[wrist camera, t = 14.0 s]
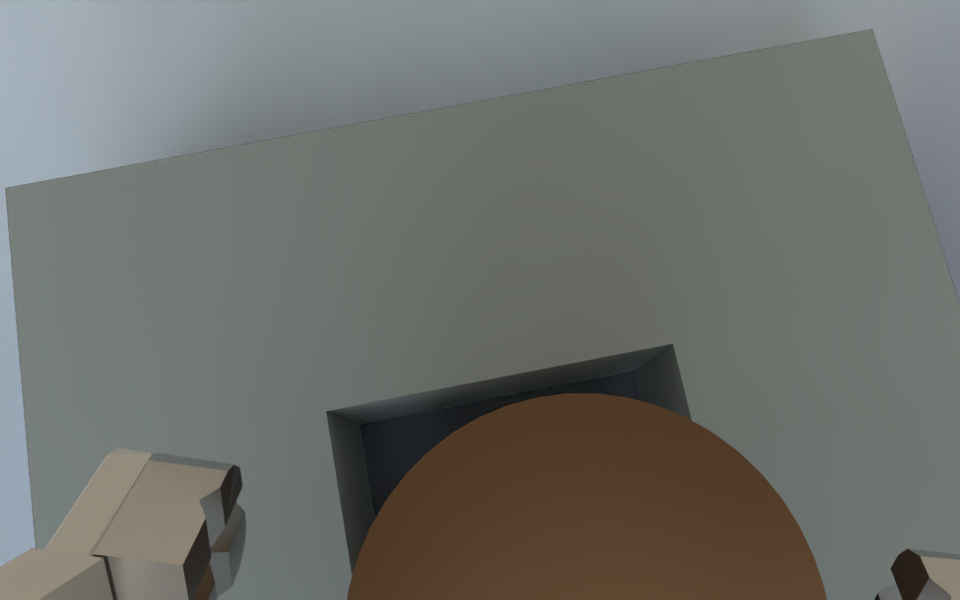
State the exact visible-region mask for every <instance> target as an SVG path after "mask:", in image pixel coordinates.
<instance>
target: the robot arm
mask: <svg viewBox="0 0 960 600" xmlns="http://www.w3.org/2000/svg"><path fill="white" fill-rule="evenodd" d="M242 487H243V485H242V478H241V471H240V467H239V466H237V465H235V464H228V463H222V462H215V461H209V460H202V459H195V458H189V457H182V456H176V455H169V454H162V453H151V452H145V451H138V450H131V449H125V448H117V449H115V450H114V451H112V452H111V453H110V454H108V455H107V456H106V457H105V459H104V460H103V462H102V463H101V465H100V466H99V468H98V469H97V471H96V472H95V474H94V475H93V477H92V478H91V480H90V481H89V483H88V484H87V486H86V487H85V489H84V490H83V492H82V493H81V495H80V496H79V498H78V499H77V501H76V502H75V504H74V505H73V507H72V508H71V510H70V512H69V513H68V515H67V516H66V518H65V519H64V521H63V522H62V524H61V525H60V527H59V528H58V530H57V531H56V533H55V534H54V536H53V537H52V539H51V540H50V542H49V543H48V545H47V546H46V548H45V549H44V550H42V549H33V548H32V549H30V550H28V551H27V552H25V553H23V554H22V555H20V556H18V557H16V558H15V559H13V560H11V561H10V562H8V563H6V564H5V565H3V566H1V567H0V600H217V597H219V596H220V595H222V594H223V593H224V592H226V591H227V590H228V589H230V588H231V587H232V586H233V583H234V581H235V578H236V575H237V573H238V570H239V568H240V564H241V560H242V555H243V551H244V547H245V540H246V515H245V511H244V510H243V509H242V508H241V507H240V506H239V505H238V503H237V502H236V501H237V498H238V496H239V494H240V492H241V489H242ZM890 569H891V571H892V574H893V577H894V579H895V582H896V583H894V584H892V585H890V586H889V587H887V588H885V589H883V590H881V591H879V592H878V593H877V595H876V597H875V599H874V600H960V554H951V553H943V552H934V551H925V550H917V549H906V550H905V551H903V552H902V553H900V554H899V555H898V556H897V558H896V560H895V561H894V563H893V565H892V567H891V568H890Z"/></svg>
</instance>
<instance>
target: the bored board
mask: <svg viewBox="0 0 960 600" xmlns="http://www.w3.org/2000/svg"><path fill="white" fill-rule="evenodd" d="M5 193H6V205H7V217H8V228H9V240H10V252H11V264H12V275H13V287H14V299H15V311H16V322H17V334H18V346H19V358H20V370H21V381H22V393H23V405H24V417H25V428H26V440H27V452H28V464H29V476H30V487H31V499H32V511H33V523H34V534H35V546H36V549H42V550H44V549H45V548H46V546H47V545H48V543H49V542H50V540H51V539H52V537H53V536H54V534H55V533H56V531H57V530H58V528H59V527H60V525H61V524H62V522H63V521H64V519H65V518H66V516H67V515H68V513H69V512H70V510H71V508H72V507H73V505H74V504H75V502H76V501H77V499H78V498H79V496H80V495H81V493H82V492H83V490H84V489H85V487H86V486H87V484H88V483H89V481H90V480H91V478H92V477H93V475H94V474H95V472H96V471H97V469H98V468H99V466H100V465H101V463H102V462H103V460H104V459H105V457H106V456H107V455H108V454H110V453H111V452H112V451H114V450H115V449H117V448H125V449H131V450H138V451H145V452H151V453H162V454H169V455H176V456H182V457H189V458H195V459H202V460H209V461H215V462H222V463H228V464H235V465H237V466H239V467H240V471H241V478H242V485H243V487H242V489H241V492H240V494H239V496H238V498H237V501H236V502H237V503H238V505H239V506H240V507H241V508H242V509H243V510H244V511H245V515H246V540H245V547H244V551H243V555H242V560H241V564H240V568H239V570H238V573H237V575H236V578H235V581H234V583H233V586H232V587H231V588H230V589H228V590H227V591H226V592H224V593H223V594H222V595H220V596H219V597H217V600H347V596H348V590H349V586H350V582H351V579H352V575H353V572H354V568H355V565H356V561H357V558H358V555H359V553H360V550H361V548H362V546H363V543H364V541H365V538H366V536H367V534H368V531H369V529H370V527H371V525H372V523H373V522H374V520H375V513H374V507H373V501H372V495H371V488H370V482H369V476H368V470H367V464H366V458H365V452H364V446H363V440H362V434H361V428H360V425H361V424H367V423H372V422H377V421H382V420H387V419H392V418H397V417H402V416H407V415H413V414H418V413H423V412H428V411H433V410H438V409H443V408H448V407H453V406H458V405H464V404H469V403H474V402H479V401H484V400H489V399H494V398H499V397H504V396H509V395H515V394H520V393H525V392H530V391H535V390H540V389H545V388H550V387H555V386H560V385H566V384H571V383H576V382H581V381H586V380H591V379H596V378H601V377H606V376H612V375H617V374H622V373H627V372H633V376H634V380H635V385H636V389H637V393H638V397H639V401H643V402H647V403H650V404H654V405H657V406H660V407H662V408H665V409H667V410H670V411H672V412H675V413H677V414H680V415H682V416H684V417H686V418H688V419H690V420H692V421H694V422H695V423H697V424H699V425H701V426H702V427H704V428H706V429H708V430H709V431H711V432H713V433H714V434H716V435H717V436H718V437H720V438H721V439H722V440H724V441H725V442H726V443H728V444H729V445H730V446H732V447H733V448H735V449H736V450H737V451H738V452H739V453H741V454H742V455H743V456H744V457H745V458H746V459H747V460H748V461H749V462H750V463H751V464H752V465H753V466H754V467H755V468H756V469H757V470H758V471H759V472H760V473H761V474H762V475H763V476H764V477H765V478H766V480H767V481H768V482H769V483H770V485H771V486H772V487H773V488H774V489H775V491H776V492H777V493H778V494H779V496H780V497H781V498H782V499H783V501H784V503H785V504H786V506H787V507H788V509H789V510H790V512H791V514H792V515H793V517H794V518H795V520H796V521H797V523H798V525H799V526H800V528H801V530H802V532H803V535H804V537H805V539H806V541H807V543H808V545H809V547H810V549H811V551H812V553H813V556H814V558H815V561H816V564H817V567H818V570H819V573H820V576H821V579H822V582H823V585H824V588H825V593H826V598H827V600H874V599H875V597H876V595H877V593H878V592H879V591H881V590H883V589H885V588H887V587H889V586H890V585H892V584H894V583H896V582H895V579H894V577H893V574H892V571H891V569H890V568H891V567H892V565H893V563H894V561H895V560H896V558H897V556H898V555H899V554H900V553H902V552H903V551H905V550H906V549H917V550H925V551H934V552H943V553H951V554H960V304H959V301H958V298H957V295H956V292H955V289H954V285H953V282H952V279H951V276H950V273H949V270H948V266H947V263H946V260H945V257H944V254H943V251H942V247H941V244H940V241H939V238H938V235H937V232H936V229H935V225H934V222H933V219H932V216H931V213H930V210H929V206H928V203H927V200H926V197H925V194H924V191H923V187H922V184H921V181H920V178H919V175H918V172H917V168H916V165H915V162H914V159H913V156H912V153H911V149H910V146H909V143H908V140H907V137H906V134H905V131H904V127H903V124H902V121H901V118H900V115H899V112H898V108H897V105H896V102H895V99H894V96H893V93H892V89H891V86H890V83H889V80H888V77H887V74H886V70H885V67H884V64H883V61H882V58H881V55H880V51H879V48H878V45H877V42H876V39H875V36H874V33H873V29H870V30H865V31H860V32H854V33H849V34H843V35H838V36H832V37H827V38H821V39H816V40H810V41H805V42H799V43H794V44H789V45H783V46H778V47H772V48H767V49H761V50H756V51H750V52H745V53H739V54H734V55H729V56H723V57H718V58H712V59H707V60H701V61H696V62H690V63H685V64H679V65H674V66H669V67H663V68H658V69H652V70H647V71H641V72H636V73H630V74H625V75H619V76H614V77H608V78H603V79H598V80H592V81H587V82H581V83H576V84H570V85H565V86H559V87H554V88H548V89H543V90H538V91H532V92H527V93H521V94H516V95H510V96H505V97H499V98H494V99H488V100H483V101H478V102H472V103H467V104H461V105H456V106H450V107H445V108H439V109H434V110H428V111H423V112H417V113H412V114H407V115H401V116H396V117H390V118H385V119H379V120H374V121H368V122H363V123H357V124H352V125H347V126H341V127H336V128H330V129H325V130H319V131H314V132H308V133H303V134H297V135H292V136H287V137H281V138H276V139H270V140H265V141H259V142H254V143H248V144H243V145H237V146H232V147H227V148H221V149H216V150H210V151H205V152H199V153H194V154H188V155H183V156H177V157H172V158H166V159H161V160H156V161H150V162H145V163H139V164H134V165H128V166H123V167H117V168H112V169H106V170H101V171H96V172H90V173H85V174H79V175H74V176H68V177H63V178H57V179H52V180H46V181H41V182H36V183H30V184H25V185H19V186H14V187H8V188H5Z"/></svg>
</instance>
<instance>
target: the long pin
mask: <svg viewBox="0 0 960 600" xmlns="http://www.w3.org/2000/svg"><path fill="white" fill-rule="evenodd" d="M347 600H827V598H826V593H825V588H824V585H823V582H822V579H821V576H820V573H819V570H818V567H817V564H816V561H815V558H814V556H813V553H812V551H811V549H810V547H809V545H808V543H807V541H806V539H805V537H804V535H803V532H802V530H801V528H800V526H799V525H798V523H797V521H796V520H795V518H794V517H793V515H792V514H791V512H790V510H789V509H788V507H787V506H786V504H785V503H784V501H783V499H782V498H781V497H780V496H779V494H778V493H777V492H776V491H775V489H774V488H773V487H772V486H771V485H770V483H769V482H768V481H767V480H766V478H765V477H764V476H763V475H762V474H761V473H760V472H759V471H758V470H757V469H756V468H755V467H754V466H753V465H752V464H751V463H750V462H749V461H748V460H747V459H746V458H745V457H744V456H743V455H742V454H741V453H739V452H738V451H737V450H736V449H735V448H733V447H732V446H730V445H729V444H728V443H726V442H725V441H724V440H722V439H721V438H720V437H718V436H717V435H716V434H714V433H713V432H711V431H709V430H708V429H706V428H704V427H702V426H701V425H699V424H697V423H695V422H694V421H692V420H690V419H688V418H686V417H684V416H682V415H680V414H677V413H675V412H672V411H670V410H667V409H665V408H662V407H660V406H657V405H654V404H650V403H647V402H643V401H639V400H635V399H631V398H628V397H621V396H613V395H605V394H597V393H566V394H558V395H551V396H543V397H536V398H532V399H529V400H525V401H521V402H518V403H514V404H510V405H507V406H504V407H502V408H500V409H497V410H495V411H492V412H490V413H488V414H485V415H483V416H481V417H478V418H477V419H475V420H473V421H471V422H470V423H468V424H466V425H465V426H463V427H461V428H460V429H458V430H456V431H454V432H453V433H451V434H450V435H449V436H447V437H446V438H445V439H444V440H442V441H441V442H440V443H438V444H437V445H436V446H435V447H433V448H432V449H431V450H429V451H428V452H427V453H426V454H425V455H424V456H423V457H422V458H421V459H420V460H419V461H418V462H417V463H416V464H415V465H414V466H413V467H412V468H411V469H410V470H409V471H408V472H407V473H406V474H405V476H404V477H403V478H402V480H401V481H400V482H399V483H398V485H397V486H396V487H395V489H394V490H393V491H392V493H391V494H390V495H389V497H388V498H387V499H386V501H385V503H384V504H383V506H382V508H381V509H380V511H379V513H378V515H377V516H376V518H375V520H374V522H373V523H372V525H371V527H370V529H369V531H368V534H367V536H366V538H365V541H364V543H363V546H362V548H361V550H360V553H359V555H358V558H357V561H356V565H355V568H354V572H353V575H352V579H351V582H350V586H349V590H348V596H347Z"/></svg>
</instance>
